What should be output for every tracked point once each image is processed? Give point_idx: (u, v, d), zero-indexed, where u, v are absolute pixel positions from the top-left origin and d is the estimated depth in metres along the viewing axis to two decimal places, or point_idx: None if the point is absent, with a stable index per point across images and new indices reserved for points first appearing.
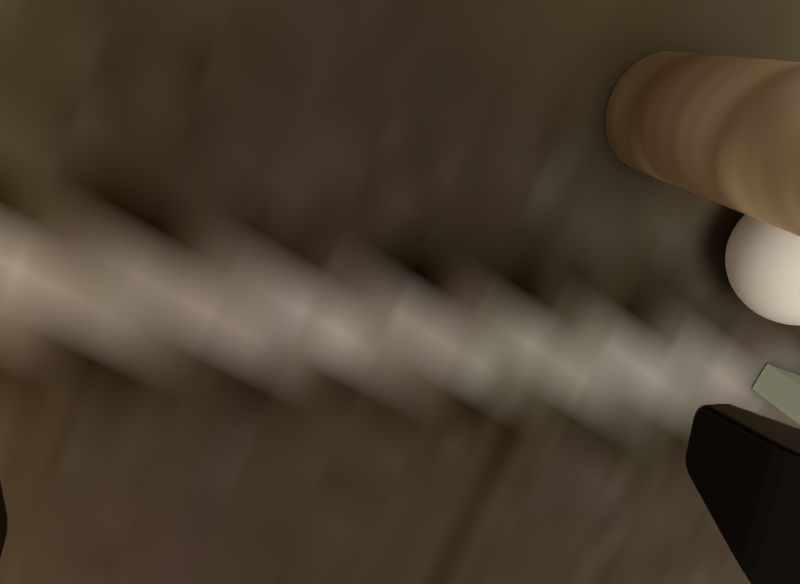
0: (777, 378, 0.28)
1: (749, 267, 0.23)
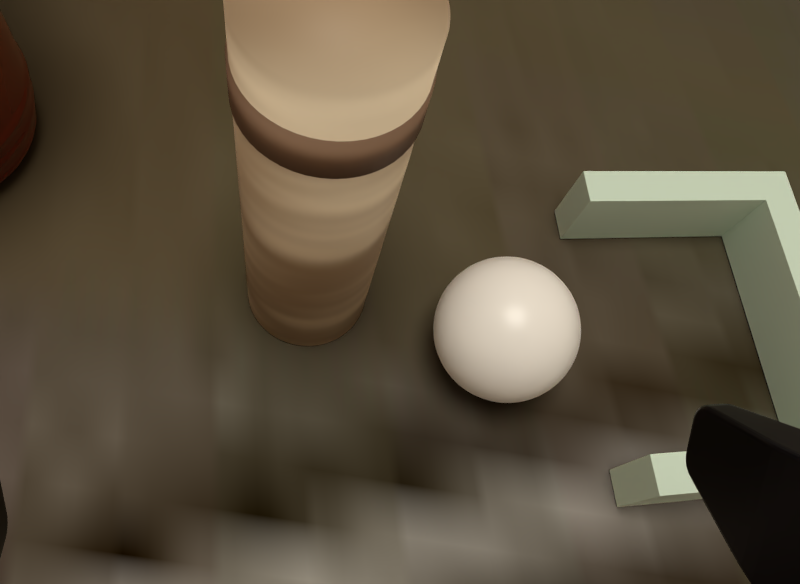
0: (621, 473, 0.23)
1: (450, 354, 0.21)
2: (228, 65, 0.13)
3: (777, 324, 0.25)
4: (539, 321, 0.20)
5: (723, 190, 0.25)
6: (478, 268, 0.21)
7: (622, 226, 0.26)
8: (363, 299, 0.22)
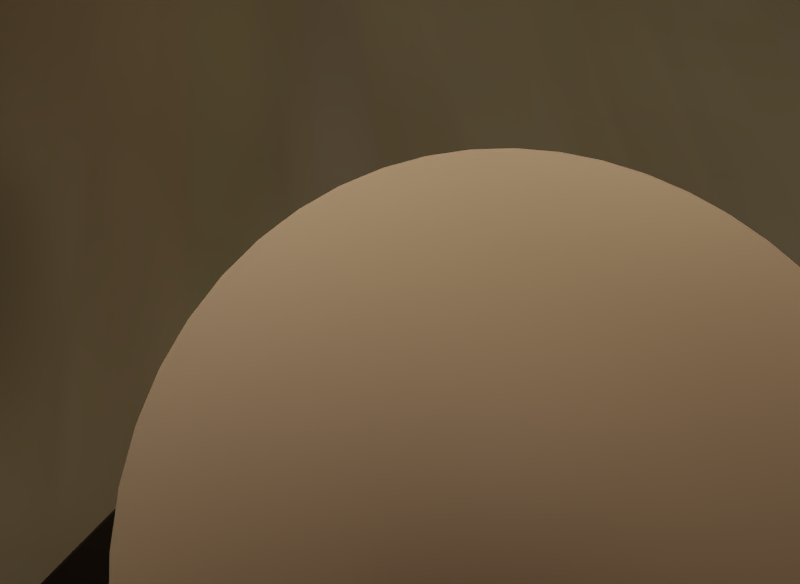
0: None
1: None
2: None
3: None
4: None
5: None
6: None
7: None
8: None
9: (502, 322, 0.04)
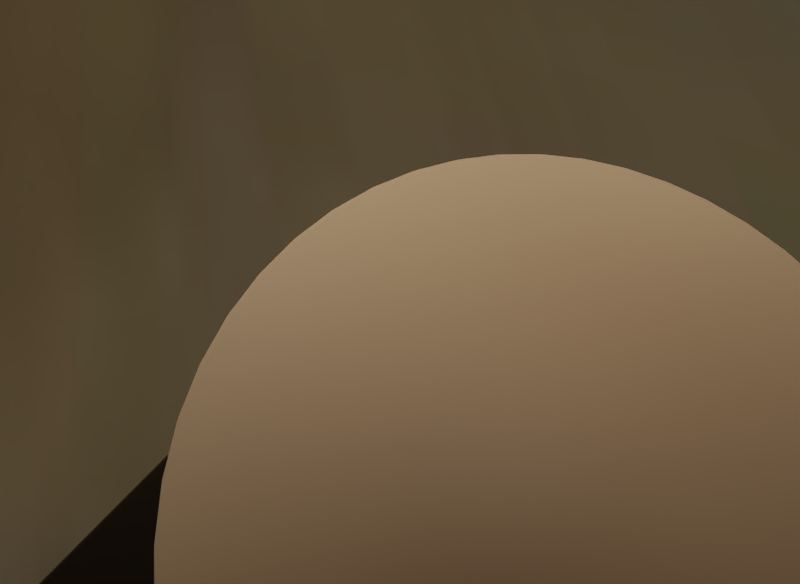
0: None
1: None
2: None
3: None
4: None
5: None
6: None
7: None
8: None
9: (533, 325, 0.04)
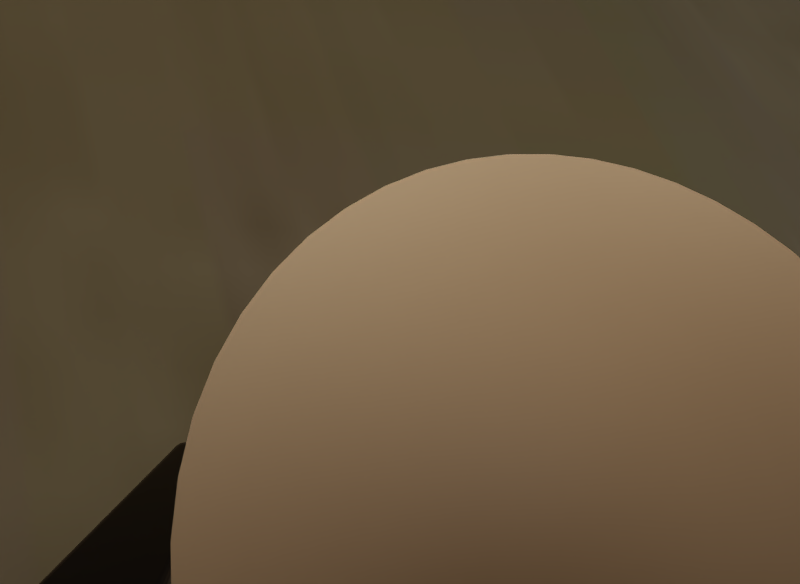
0: None
1: None
2: None
3: None
4: None
5: None
6: None
7: None
8: None
9: (542, 321, 0.04)
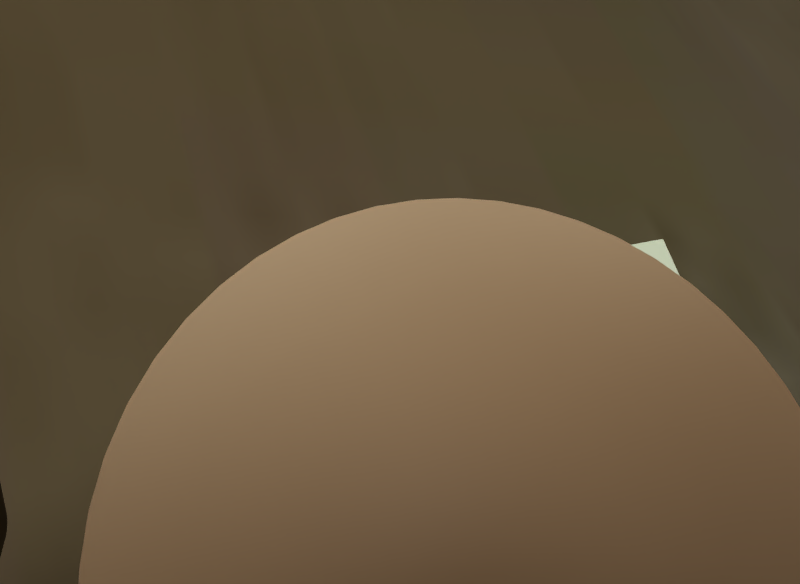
0: None
1: None
2: None
3: None
4: None
5: None
6: None
7: None
8: None
9: (438, 360, 0.04)
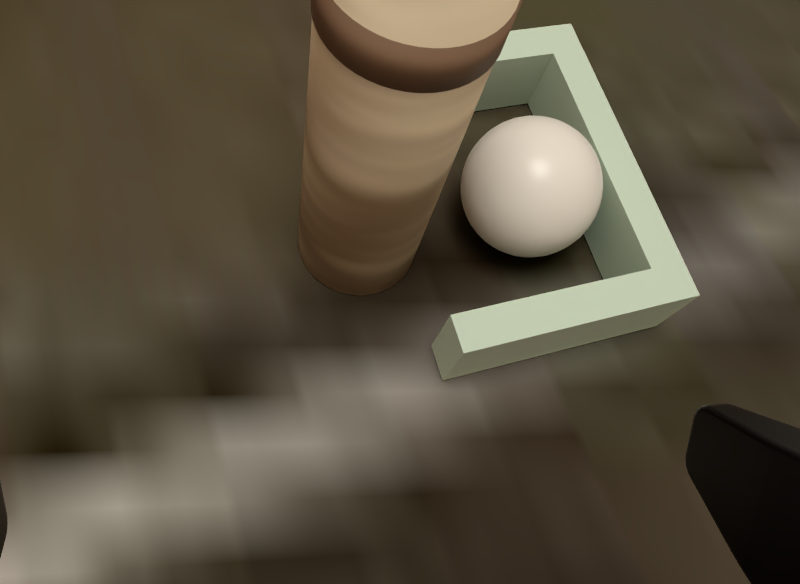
0: (438, 345, 0.22)
1: None
2: None
3: None
4: None
5: (509, 49, 0.25)
6: None
7: None
8: (418, 245, 0.22)
9: None
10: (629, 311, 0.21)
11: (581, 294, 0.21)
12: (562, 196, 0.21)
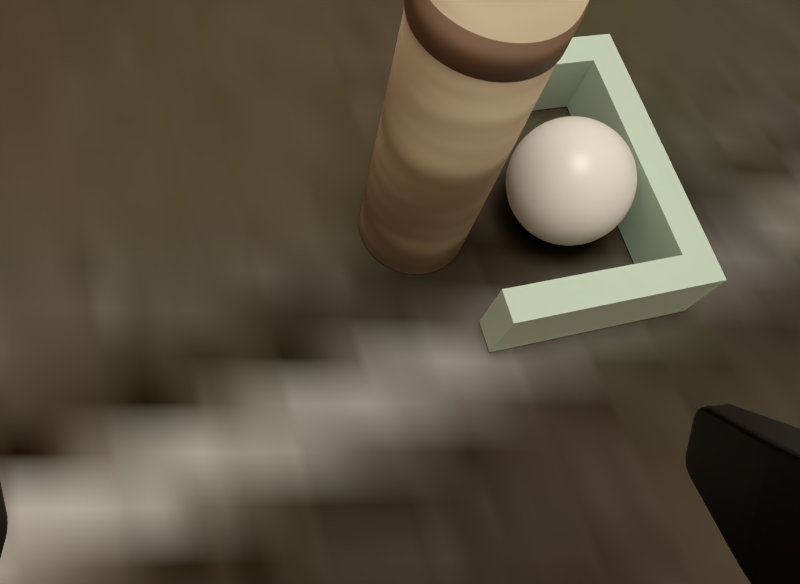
0: (487, 319, 0.24)
1: None
2: None
3: None
4: None
5: None
6: None
7: None
8: (470, 228, 0.25)
9: None
10: (662, 292, 0.24)
11: (619, 275, 0.24)
12: (598, 190, 0.23)
